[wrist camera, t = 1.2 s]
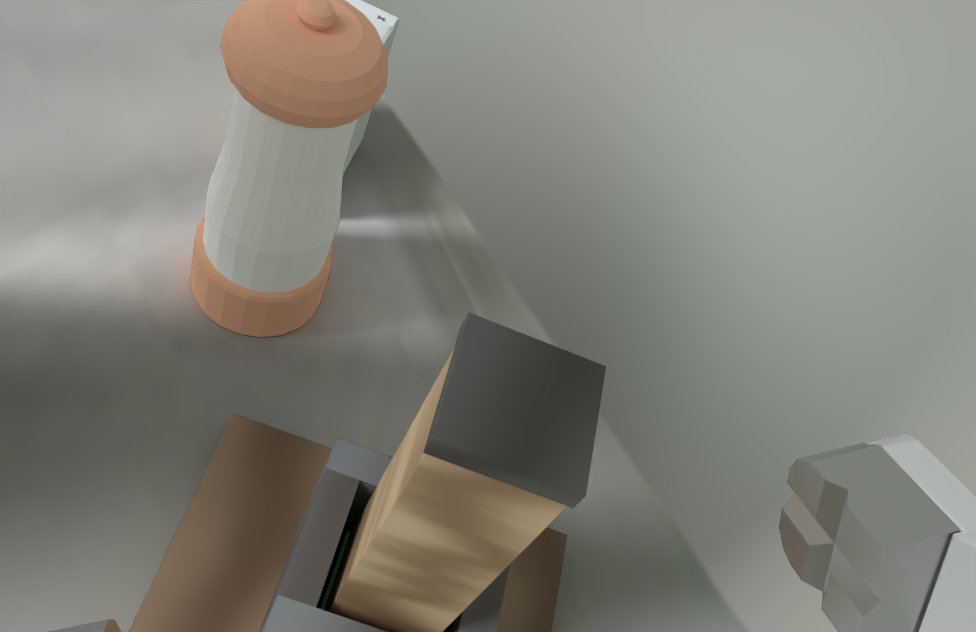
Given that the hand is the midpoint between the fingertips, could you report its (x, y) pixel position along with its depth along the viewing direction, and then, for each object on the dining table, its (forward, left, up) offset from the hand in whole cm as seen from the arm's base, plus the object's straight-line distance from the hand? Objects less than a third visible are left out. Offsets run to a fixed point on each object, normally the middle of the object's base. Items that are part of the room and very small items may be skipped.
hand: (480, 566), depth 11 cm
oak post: (+2, +9, -30) cm, 31 cm away
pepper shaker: (-9, +26, -32) cm, 42 cm away
